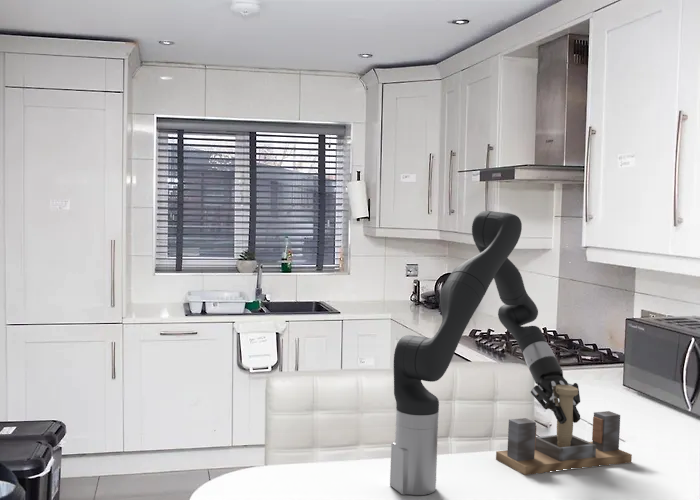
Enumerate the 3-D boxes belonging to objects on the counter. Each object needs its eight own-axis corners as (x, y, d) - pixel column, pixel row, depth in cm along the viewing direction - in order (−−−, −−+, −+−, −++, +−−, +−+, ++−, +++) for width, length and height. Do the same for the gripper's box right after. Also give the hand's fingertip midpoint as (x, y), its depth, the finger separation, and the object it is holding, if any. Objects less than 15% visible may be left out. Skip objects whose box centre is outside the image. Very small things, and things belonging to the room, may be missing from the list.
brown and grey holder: (524, 475, 173) (526, 428, 172) (495, 459, 184) (497, 415, 183) (631, 462, 185) (633, 418, 184) (598, 448, 196) (600, 407, 196)
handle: (566, 442, 188) (569, 384, 187) (579, 450, 182) (582, 390, 181) (549, 443, 187) (551, 384, 186) (560, 451, 181) (563, 390, 180)
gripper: (526, 355, 188) (554, 415, 177) (571, 354, 193) (601, 411, 182) (513, 372, 193) (539, 431, 182) (557, 370, 198) (585, 427, 187)
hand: (570, 421), depth 182 cm, fingers closed on handle, 3 cm apart
